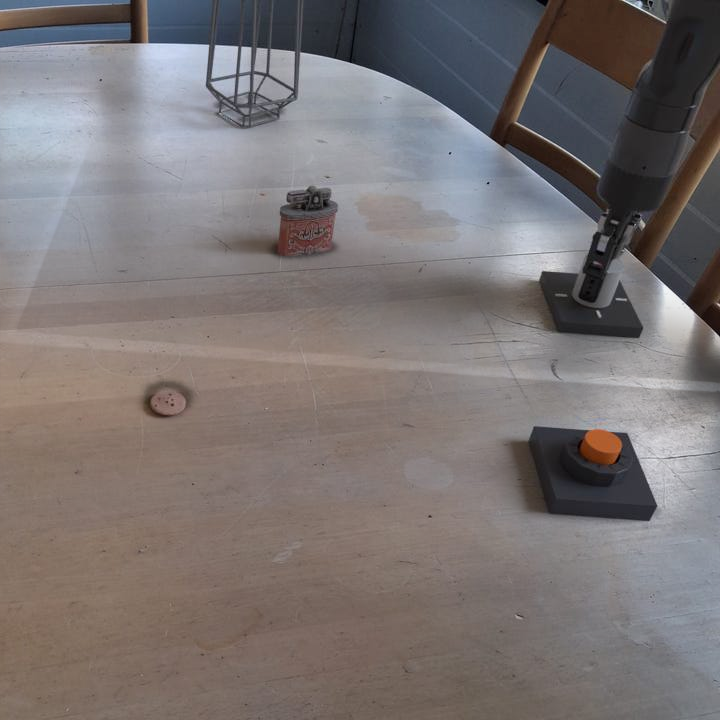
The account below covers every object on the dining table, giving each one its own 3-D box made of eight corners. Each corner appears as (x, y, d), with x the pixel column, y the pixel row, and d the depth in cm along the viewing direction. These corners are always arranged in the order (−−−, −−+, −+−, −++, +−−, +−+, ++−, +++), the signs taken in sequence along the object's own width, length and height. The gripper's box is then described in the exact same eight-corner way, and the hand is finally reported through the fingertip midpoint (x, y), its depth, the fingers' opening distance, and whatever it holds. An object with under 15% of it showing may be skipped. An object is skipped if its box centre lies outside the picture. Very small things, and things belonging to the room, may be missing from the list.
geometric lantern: (260, 94, 165) (276, -134, 141) (312, 125, 156) (339, -113, 132) (187, 109, 158) (190, -129, 134) (237, 143, 149) (251, -106, 125)
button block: (620, 448, 97) (633, 419, 95) (649, 521, 89) (664, 492, 87) (528, 441, 97) (538, 412, 94) (549, 514, 89) (561, 485, 86)
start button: (610, 443, 92) (616, 430, 91) (620, 467, 89) (626, 454, 88) (575, 440, 92) (581, 427, 91) (584, 464, 89) (589, 451, 88)
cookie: (152, 418, 96) (152, 411, 95) (147, 395, 99) (147, 388, 98) (188, 416, 97) (188, 408, 96) (183, 392, 100) (183, 385, 99)
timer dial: (578, 283, 116) (591, 246, 112) (615, 296, 114) (630, 258, 111) (566, 299, 113) (580, 261, 109) (604, 312, 111) (619, 274, 108)
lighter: (324, 248, 125) (334, 179, 118) (335, 260, 123) (345, 190, 116) (271, 256, 123) (277, 186, 116) (281, 268, 120) (288, 198, 114)
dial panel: (610, 296, 120) (618, 275, 118) (635, 348, 112) (644, 326, 109) (535, 290, 120) (542, 269, 118) (554, 342, 111) (562, 320, 109)
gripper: (660, 192, 95) (605, 326, 107) (692, 147, 104) (638, 276, 116) (590, 171, 98) (545, 305, 110) (627, 130, 107) (582, 257, 119)
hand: (593, 289), depth 113 cm, fingers closed on timer dial, 5 cm apart
